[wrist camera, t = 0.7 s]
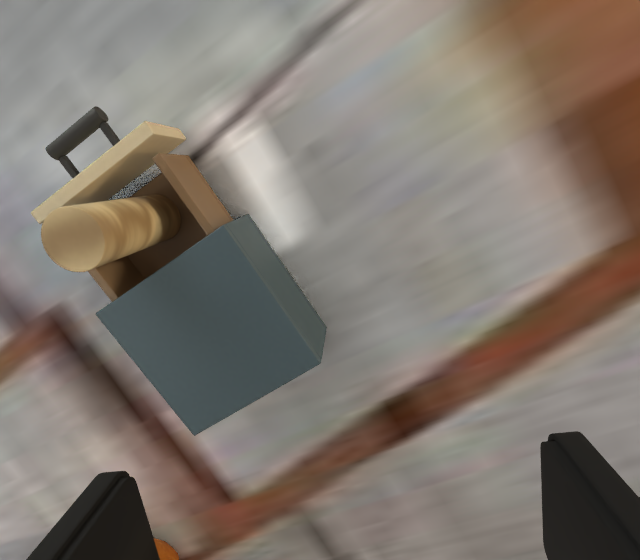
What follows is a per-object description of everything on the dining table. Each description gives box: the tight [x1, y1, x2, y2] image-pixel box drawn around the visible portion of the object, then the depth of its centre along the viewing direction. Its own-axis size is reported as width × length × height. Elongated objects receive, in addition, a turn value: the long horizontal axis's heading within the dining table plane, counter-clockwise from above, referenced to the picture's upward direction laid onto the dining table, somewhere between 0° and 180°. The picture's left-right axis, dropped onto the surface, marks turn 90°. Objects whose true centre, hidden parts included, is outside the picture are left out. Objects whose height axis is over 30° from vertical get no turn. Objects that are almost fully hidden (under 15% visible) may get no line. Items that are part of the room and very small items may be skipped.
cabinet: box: [96, 214, 327, 436], centre depth 41 cm, size 15×15×9 cm
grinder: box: [41, 195, 181, 272], centre depth 35 cm, size 5×5×13 cm
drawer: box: [31, 107, 233, 302], centre depth 38 cm, size 18×13×7 cm
